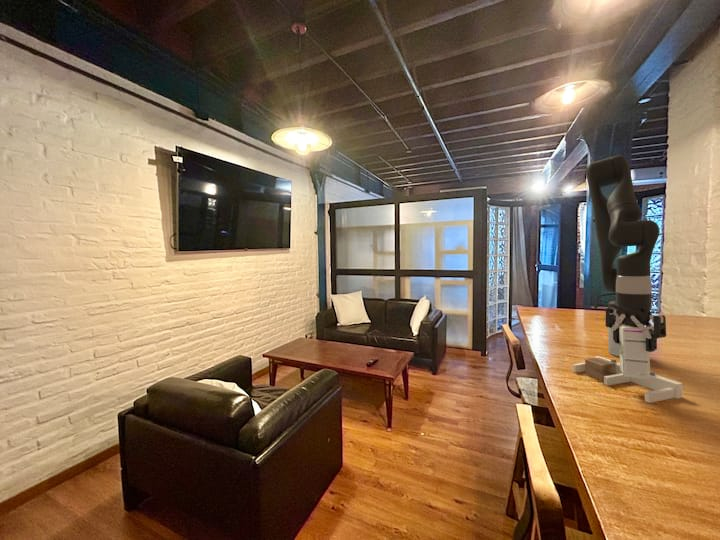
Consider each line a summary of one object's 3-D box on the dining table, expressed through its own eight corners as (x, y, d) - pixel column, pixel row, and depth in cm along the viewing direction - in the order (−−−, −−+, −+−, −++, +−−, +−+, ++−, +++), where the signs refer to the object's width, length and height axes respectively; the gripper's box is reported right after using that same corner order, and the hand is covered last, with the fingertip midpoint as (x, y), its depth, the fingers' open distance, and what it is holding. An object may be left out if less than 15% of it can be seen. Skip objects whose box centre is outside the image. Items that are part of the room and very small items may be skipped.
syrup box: (651, 380, 82) (650, 328, 81) (622, 376, 85) (622, 327, 84) (645, 372, 86) (644, 324, 86) (618, 369, 90) (618, 322, 89)
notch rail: (598, 367, 103) (598, 353, 103) (682, 397, 81) (682, 380, 81) (572, 371, 101) (572, 357, 101) (651, 403, 79) (651, 386, 79)
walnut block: (598, 371, 100) (598, 357, 100) (615, 378, 94) (615, 363, 94) (585, 374, 99) (585, 359, 98) (601, 380, 93) (601, 365, 93)
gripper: (674, 292, 78) (674, 353, 79) (617, 287, 92) (617, 338, 93) (652, 295, 77) (652, 356, 78) (597, 289, 91) (598, 341, 91)
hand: (633, 346), depth 85 cm, fingers closed on syrup box, 8 cm apart
